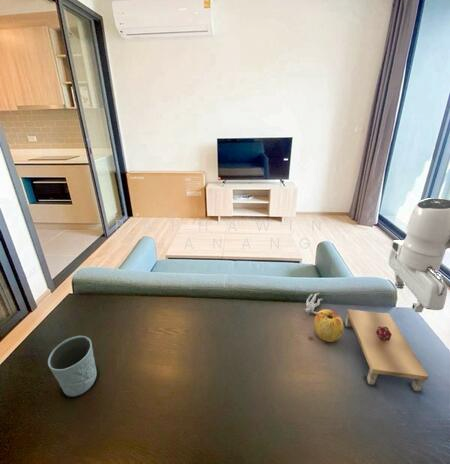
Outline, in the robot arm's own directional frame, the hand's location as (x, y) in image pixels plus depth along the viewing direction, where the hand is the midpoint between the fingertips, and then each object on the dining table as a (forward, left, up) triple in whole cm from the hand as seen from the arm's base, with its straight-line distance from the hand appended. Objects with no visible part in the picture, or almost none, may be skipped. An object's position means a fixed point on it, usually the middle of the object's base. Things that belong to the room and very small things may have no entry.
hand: (407, 298), depth 70 cm
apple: (+18, -4, -23) cm, 29 cm away
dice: (+3, 0, -16) cm, 17 cm away
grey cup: (+92, +22, -23) cm, 98 cm away
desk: (+3, 0, -23) cm, 23 cm away
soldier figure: (+20, -17, -23) cm, 35 cm away
